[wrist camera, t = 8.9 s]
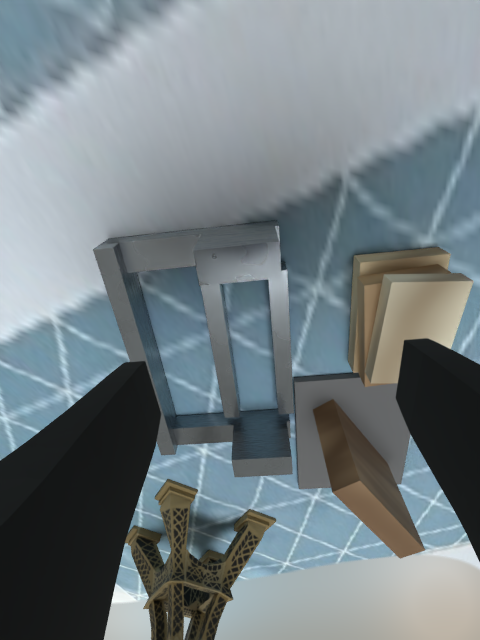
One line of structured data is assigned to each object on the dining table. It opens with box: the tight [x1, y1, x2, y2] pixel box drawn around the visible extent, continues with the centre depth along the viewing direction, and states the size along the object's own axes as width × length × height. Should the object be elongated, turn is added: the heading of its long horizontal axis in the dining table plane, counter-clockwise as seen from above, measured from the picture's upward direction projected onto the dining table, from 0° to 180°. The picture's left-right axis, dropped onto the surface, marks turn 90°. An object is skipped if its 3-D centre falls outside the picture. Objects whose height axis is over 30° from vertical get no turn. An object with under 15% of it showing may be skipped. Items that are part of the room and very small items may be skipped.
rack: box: [93, 220, 294, 477], centre depth 19 cm, size 9×15×4 cm, turn 6°
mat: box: [294, 373, 410, 489], centre depth 24 cm, size 8×11×1 cm
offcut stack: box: [348, 247, 473, 387], centre depth 18 cm, size 4×7×3 cm, turn 6°
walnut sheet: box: [313, 399, 425, 558], centre depth 21 cm, size 2×8×6 cm, turn 38°
